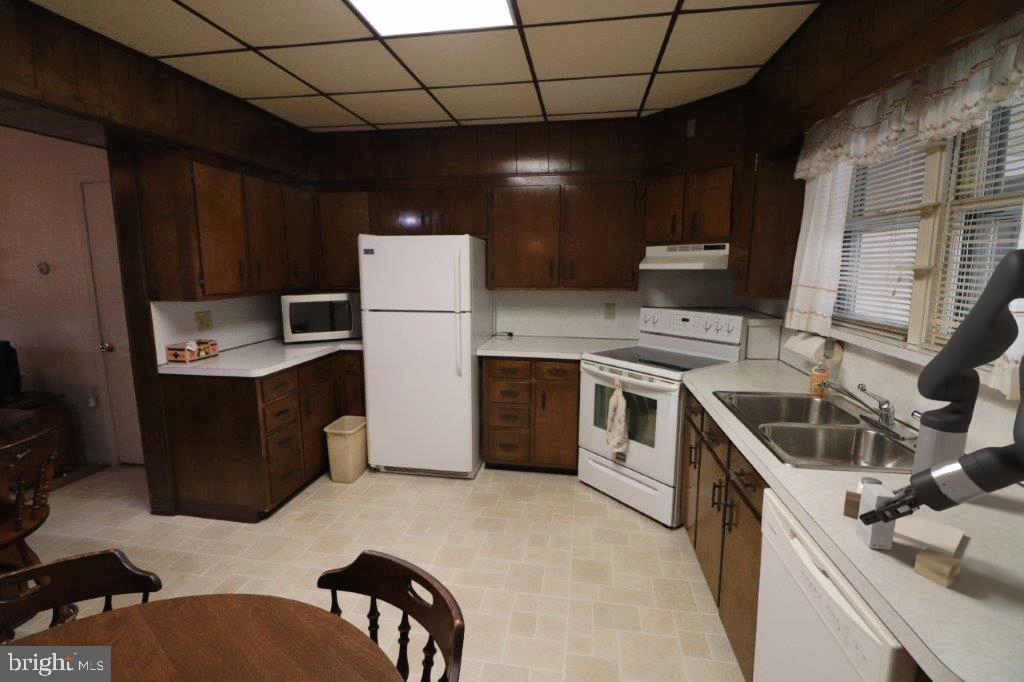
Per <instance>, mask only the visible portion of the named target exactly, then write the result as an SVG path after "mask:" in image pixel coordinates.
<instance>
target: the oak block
mask: <svg viewBox="0 0 1024 682" xmlns="http://www.w3.org/2000/svg"><path fill="white" fill-rule="evenodd" d="M961 567H962V560H960V559H958V558H955V557H954V556H953V557H951V556H949V555H946V554H944V553H942V552H939V551H937V550H935V549H932V548H930V547H928V548H925V549H923V550H922V551H920V552H918V553H917V554H916V556H915V562H914V568H913V573H914V574H916V575H919V576H920V577H922V578H925V580H926V579H927V580H929V581H931V582H933V583H935V584H936V585H939V586H941V587H943V588H945V589H947V588H948V587H949V586H952V584H954V583H956V582H957V581H958V580H959V577H960V574H961V573H960V572H961Z"/></svg>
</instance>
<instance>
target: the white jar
mask: <svg viewBox="0 0 1024 682" xmlns="http://www.w3.org/2000/svg"><path fill="white" fill-rule="evenodd" d="M863 483H867V484H878V485H883V481H882V480H879V479H878V478H875V477H869V476H864V477H863V476H862V477H861V479H860V480H859V481H858V485H857V491H856V493H859V494H862V488H863Z"/></svg>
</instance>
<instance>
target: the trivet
mask: <svg viewBox="0 0 1024 682" xmlns="http://www.w3.org/2000/svg"><path fill="white" fill-rule="evenodd" d="M964 536H965V530H961V529H958V528H956V527H952V526H950V525H946V524H943V523H940V522H937V521H934V520H931V519H928V518H925V517H922V516H919V515H916V514H914V513H912V514H911V515H907V516H904V517H901V518H898V519H896V523H895V529H894V535H893V537H895V538H899V539H901V540H905V541H907V542H909V541H910V543H913V544H916V545H919V546H920V545H921V546H920V547H923V546H924V547H923V548H925V549H927V548H928V547H930V548H932V549H935V550H937V551H939V552H942V553H944V554H946V555H949V556H951V557H953V558H954V556H955V554H956V553H957V550H958V549H959V546H960V544H961V542H962V540H963V538H964Z"/></svg>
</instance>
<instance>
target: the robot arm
mask: <svg viewBox="0 0 1024 682" xmlns="http://www.w3.org/2000/svg"><path fill="white" fill-rule="evenodd" d="M1018 299H1019V300H1020V299H1024V248H1018V249H1014V250H1012V251H1009V252H1008V253H1006V254H1005V255H1004V256H1003V258H1001V260H999V262H998V264H997V265H996V267H995V269H994V270H993V273H991V276H990V278H989V280H988V281H987V283H986V285H985V287H984V289H983V291H982V293H981V294H980V296H979V298H978V299H977V300H976V302H975V303H974V305H973V307H971V309H970V311H969V312H968V313H967V315H965V317H964V318H963V320H962V321H961V322H960V324H958V325H957V327H956V329H955V330H954V331H953V333H952V335H951V337H949V339H948V341H947V342H946V343H945V345H944V347H942V348H941V350H940V351H939V352H938V353H937V354H936V355H935V356H934V357H933V358H931V360H930V361H929V362H927V364H926V365H925V366H924V367H923V368H922V370H921V372H920V373H919V375H918V379H917V383H916V386H917V390H918V393H919V394H920V396H921V397H922V398H925V399H927V400H929V401H936V402H944V403H945V402H947V403H948V404H947V405H946V406H943V407H941V408H936V409H935V408H934V409H929V410H925V411H924V412H922V414H921V415H920V421H919V426H918V427H919V428H918V433H917V434H918V435H917V439H916V447H915V452H914V453H915V454H914V458H913V465H912V471H911V475H910V477H909V483H910V484H908V485H905V486H902V487H901V488H898V489H896V490H895V489H894V490H893V491H892V492H893V493H894V494H895V495H896V496H894V497H892V498H890V499H888V500H886V501H885V502H884V505H882V506H880V507H877V508H876V509H874V510H871V511H869V512H866V513H863V514H861V515H860V516H859V518H860V519H861V521H862V522H863V523H864V524H865V525H870V524H873V523H876V522H879V521H883V522H884V523H888V522H890V521H893V520H895V519H898V518H901V517H904V516H907V515H911V514H914V513H915V512H917V511H918V510H920V509H921V506H923V505H925V506H927V508H929V509H931V510H933V511H934V512H943V511H946V510H948V509H952V508H955V507H957V506H960V505H963V504H966V503H969V502H972V501H975V500H977V499H980V498H981V497H984V496H985V495H988V494H990V493H993V492H996V491H999V490H1002V489H1005V488H1008V487H1010V486H1013V485H1016V484H1018V483H1022V482H1024V354H1023V355H1022V358H1021V360H1020V362H1019V369H1018V378H1019V379H1018V380H1019V381H1018V383H1019V386H1018V387H1019V398H1020V401H1019V404H1018V407H1017V411H1016V414H1015V419H1014V423H1013V430H1012V436H1013V437H1012V438H1013V442H1014V443H1011V444H1008V445H1003V446H987V447H982V448H980V449H977V450H974V451H972V452H970V453H967V454H965V450H966V447H967V445H966V444H967V441H968V440H967V439H968V433H969V428H970V425H971V422H972V420H973V416H974V415H973V414H974V411H975V407H976V403H977V399H978V396H979V392H980V386H981V385H980V383H981V378H980V375H979V372H978V371H977V370H976V369H975V368H979V367H981V366H984V365H988V364H990V363H992V362H994V361H996V360H998V359H999V358H1001V356H1003V355H1004V354H1005V353H1006V352H1007V351H1008V349H1009V348H1010V347H1011V346H1013V344H1014V343H1015V341H1016V340H1017V339H1018V336H1019V332H1020V331H1019V325H1018V322H1017V320H1016V318H1015V316H1014V314H1013V313H1012V311H1011V310H1010V308H1009V305H1010V303H1011V302H1013V301H1015V300H1018ZM892 502H893V504H892ZM884 511H889V512H890V514H889V515H886V513H885V512H884Z"/></svg>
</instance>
